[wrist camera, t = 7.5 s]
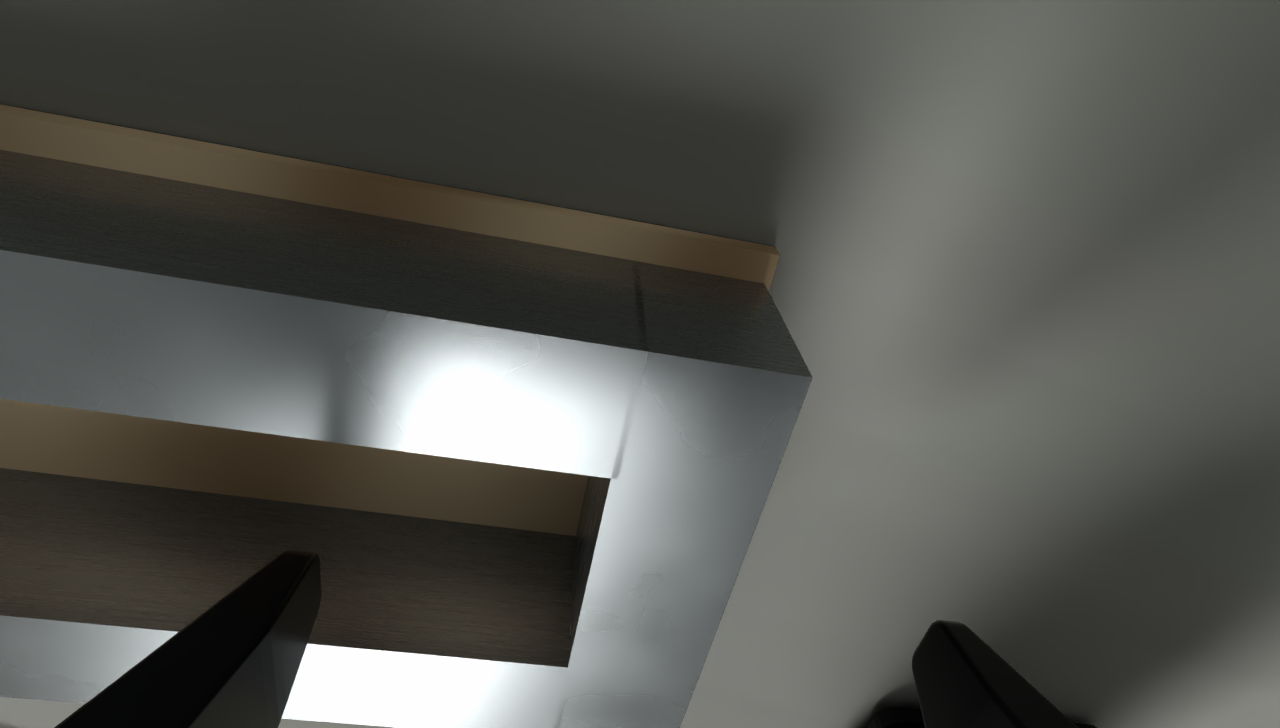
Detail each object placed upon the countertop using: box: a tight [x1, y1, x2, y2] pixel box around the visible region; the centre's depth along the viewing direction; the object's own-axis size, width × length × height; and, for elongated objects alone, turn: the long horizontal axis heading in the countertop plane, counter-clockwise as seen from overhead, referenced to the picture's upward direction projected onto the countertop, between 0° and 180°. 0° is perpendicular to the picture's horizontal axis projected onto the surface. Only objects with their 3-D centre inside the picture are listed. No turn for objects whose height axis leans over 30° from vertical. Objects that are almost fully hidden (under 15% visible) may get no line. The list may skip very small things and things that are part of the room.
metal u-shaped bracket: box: [0, 150, 812, 728], centre depth 11 cm, size 14×8×3 cm, turn 79°
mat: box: [0, 104, 780, 536], centre depth 12 cm, size 15×9×1 cm, turn 79°
